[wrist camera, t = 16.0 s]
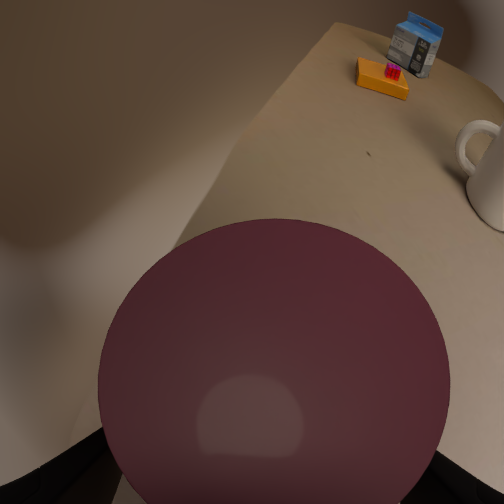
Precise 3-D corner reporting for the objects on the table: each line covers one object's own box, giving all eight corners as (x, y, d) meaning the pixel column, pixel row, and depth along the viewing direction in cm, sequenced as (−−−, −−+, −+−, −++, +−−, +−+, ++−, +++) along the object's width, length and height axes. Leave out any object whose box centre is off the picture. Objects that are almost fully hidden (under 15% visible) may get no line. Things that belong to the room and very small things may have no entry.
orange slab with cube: (356, 85, 37) (362, 61, 34) (355, 67, 41) (360, 46, 38) (405, 101, 36) (413, 78, 33) (398, 81, 40) (405, 61, 37)
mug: (431, 183, 27) (473, 108, 18) (445, 152, 31) (478, 89, 22) (509, 247, 23) (564, 189, 15) (513, 207, 27) (554, 153, 18)
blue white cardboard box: (385, 57, 47) (398, 8, 36) (396, 57, 48) (409, 11, 37) (418, 78, 43) (435, 26, 32) (428, 78, 44) (445, 29, 33)
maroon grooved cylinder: (335, 408, 16) (494, 373, 5) (247, 478, 13) (256, 601, 2) (264, 328, 18) (297, 173, 7) (175, 392, 16) (45, 334, 5)
